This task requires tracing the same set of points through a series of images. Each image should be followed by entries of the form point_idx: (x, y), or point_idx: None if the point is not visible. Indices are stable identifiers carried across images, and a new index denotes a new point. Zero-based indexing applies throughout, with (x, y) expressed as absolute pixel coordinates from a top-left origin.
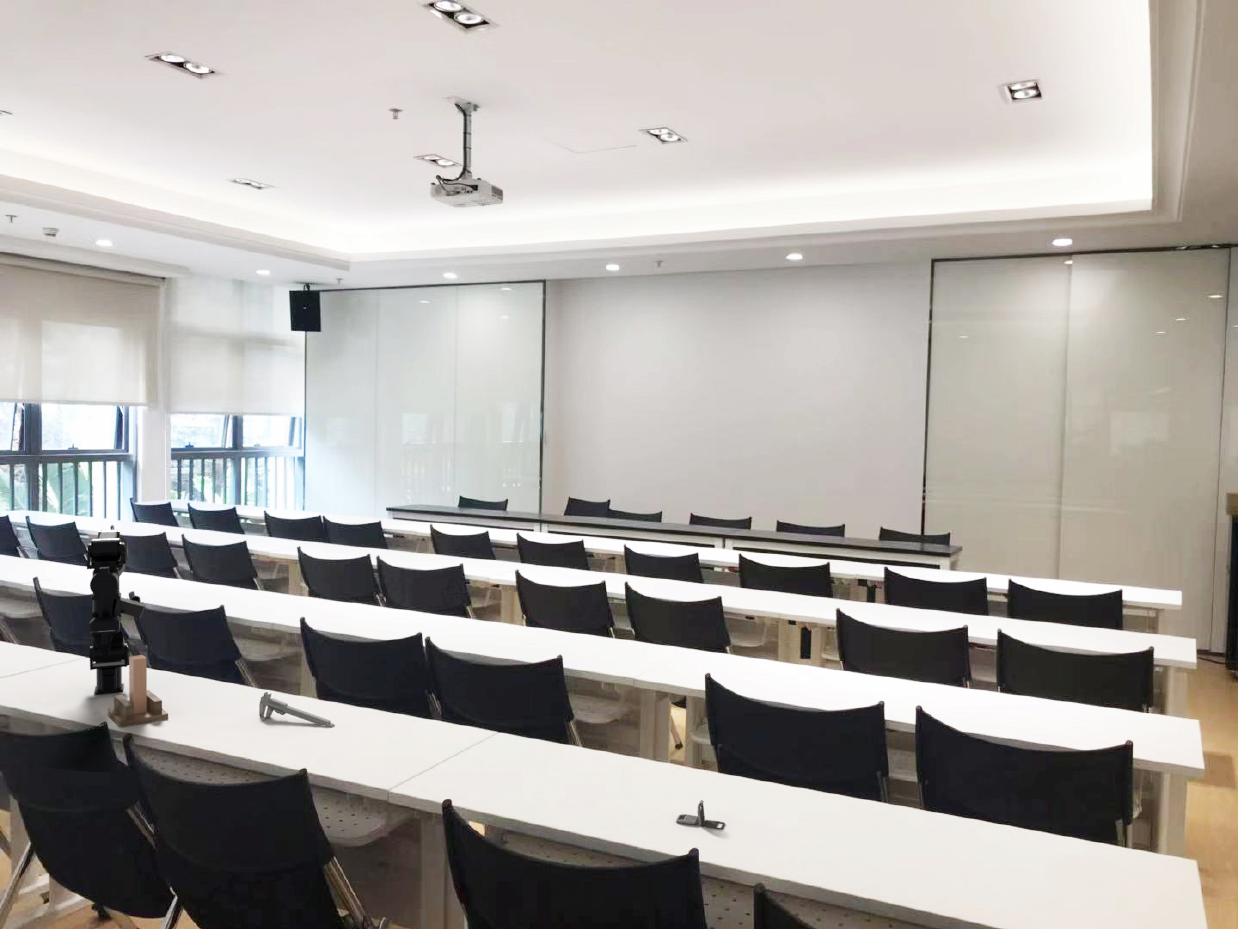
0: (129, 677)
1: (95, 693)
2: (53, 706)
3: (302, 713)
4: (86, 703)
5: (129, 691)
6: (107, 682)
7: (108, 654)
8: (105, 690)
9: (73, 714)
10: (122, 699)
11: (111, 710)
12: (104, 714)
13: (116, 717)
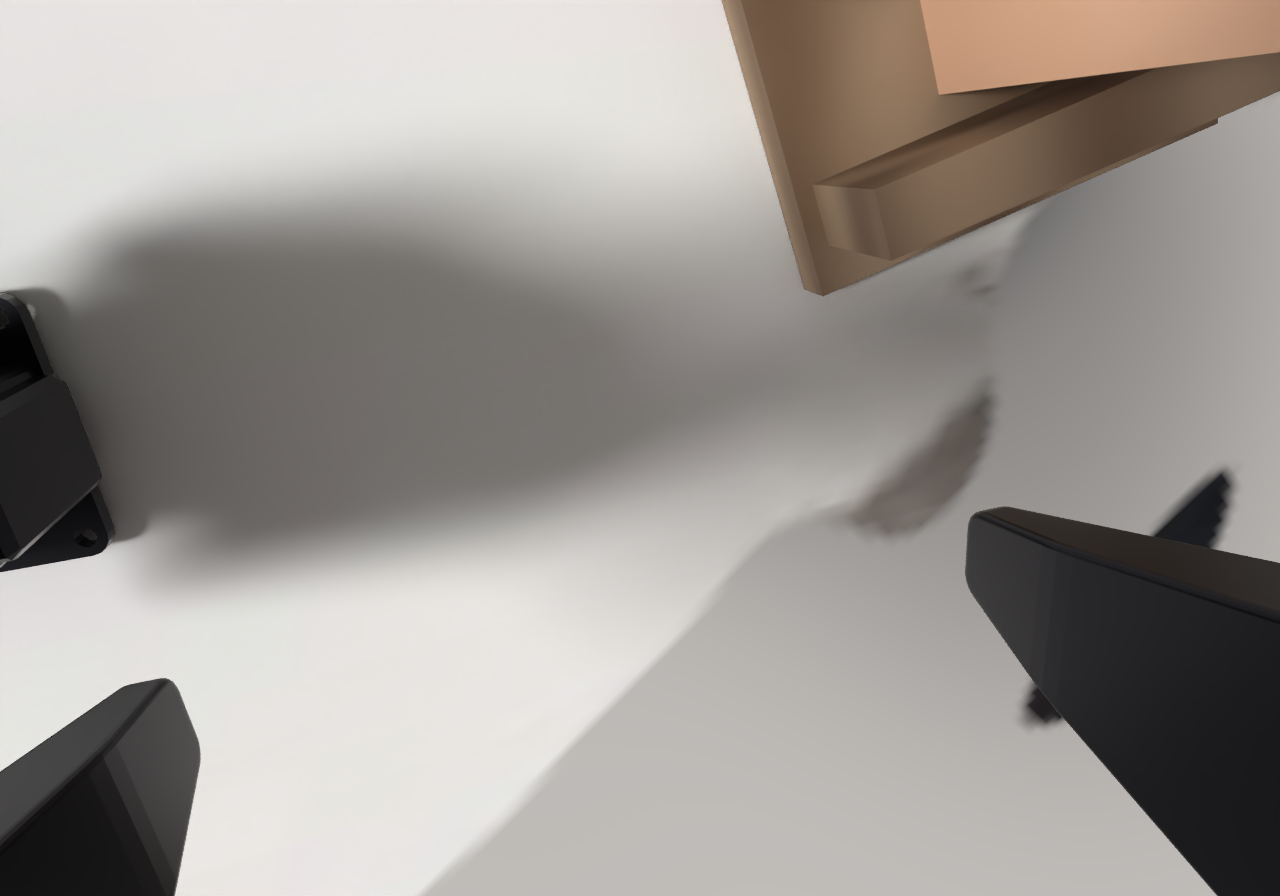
0: (1237, 54)
1: (111, 537)
2: (444, 734)
3: None
4: (410, 532)
5: (1082, 75)
6: (43, 474)
7: (1046, 517)
8: (91, 460)
9: (707, 543)
10: (1067, 149)
11: (867, 260)
12: (788, 318)
13: (1082, 182)
